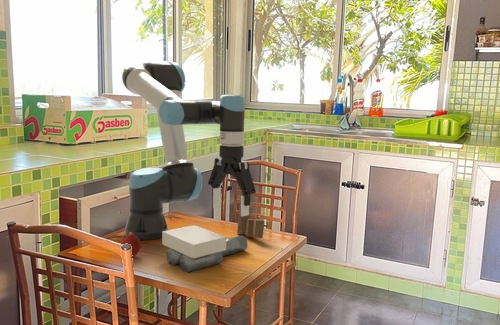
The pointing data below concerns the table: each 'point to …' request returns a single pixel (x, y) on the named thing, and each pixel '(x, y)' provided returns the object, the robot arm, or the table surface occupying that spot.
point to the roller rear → (173, 256)
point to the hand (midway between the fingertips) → (230, 211)
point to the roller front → (200, 261)
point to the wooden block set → (250, 225)
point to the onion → (132, 243)
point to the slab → (194, 241)
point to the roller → (235, 245)
